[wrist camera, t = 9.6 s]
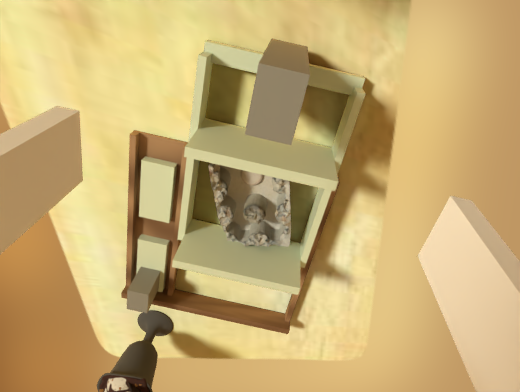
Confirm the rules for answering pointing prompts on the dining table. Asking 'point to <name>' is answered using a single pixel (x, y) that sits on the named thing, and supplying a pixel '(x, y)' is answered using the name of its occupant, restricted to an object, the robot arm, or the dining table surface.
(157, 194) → the broken strip
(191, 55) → the dining table surface
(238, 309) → the frame
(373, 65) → the dining table surface
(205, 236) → the sage green shelf unit
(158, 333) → the sundae
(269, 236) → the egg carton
